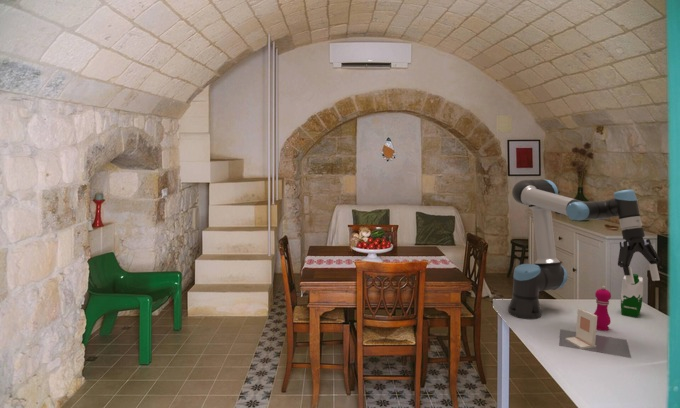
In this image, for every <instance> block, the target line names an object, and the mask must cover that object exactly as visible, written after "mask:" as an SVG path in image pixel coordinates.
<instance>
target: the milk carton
mask: <svg viewBox="0 0 680 408" xmlns="http://www.w3.org/2000/svg"><path fill="white" fill-rule="evenodd" d="M633 278H634V282H635V284H627V281H626V276H625V275H624V276H623V279H622V281H621V283H622V284H621V290H620V291H621V292H620V293H621V294H620V310H621V312H620V313H621V316H627V317H632V318H636V319H638V318H639V317H640V313H641V310H642V304H643V295H644V286H645V285H644V278H643V277H642V276H639V274H638V273H637V274H636V273H633Z"/></svg>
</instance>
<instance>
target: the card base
mask: <svg viewBox="0 0 680 408" xmlns="http://www.w3.org/2000/svg"><path fill="white" fill-rule="evenodd" d="M565 340H566V341H568V342H570V343H571V344H573V345H575V346H577V347H578V348H580V349H579V350H581V349H585V348H594V347H596V345H591V344H589V343H587V342H585V341H583V340H581V339H580V338H578V337H571V338H565Z"/></svg>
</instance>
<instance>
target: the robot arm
mask: <svg viewBox="0 0 680 408" xmlns="http://www.w3.org/2000/svg"><path fill="white" fill-rule="evenodd" d="M511 195H512V199H513V200H514V201H516V202H517V203H518V204H521V205H524V206H528V209H530V210H531V211H532V219H533V227H534V228H533V229H534V230H533V231H534V237H535V239H534V240H535V247H536V256H537V259H536V260H535V262H534V263H521V264H518V265H517V266H516V267H515V268H513V269H514V270H513V276H512V277H513V280H512V282H513V283H512V295H511V296H512V297H511V299H510V302H509V304H508V306H507V313H508V314H509V315H511V316H513V317H517V318H520V319H528V320H534V319H539V318H541V317H542V307H541V303H540V300H539V298H540V297H539V295H540V292H543V291H545V292H546V291H555V290H558V289H559V290H560V289H562V288H564V286H565V285H566V283H567V281H568V272H567V269H566V268H565V266H564V265H561V260H559V259H558V258H557V248H556V243H555V242H556V241H555V233H554V223H553V214H552V212H555V213H558V214H561V215H564V216H567V217H568V219H569V220H572V221H577V222H578V221H579V222H580V221H587V220H590V221H591V220H596V221H601V220H603V221H605V220H607V219H611V218H615V217H618V221H619V225H620V229H621V234H622V235H621V236H622V238H623V240H624V241H619V253H618V258H617V266H618V267H620V268H622V269H623V274H624V275H625V276H626V281H627V284H635V282H634V278H633V274H634V273H633V269H632V266H630V264H631V262H632V260H633V256H634V254H635V253H640V254H641V255H642V256H643V258H645V259H646V260H647V262H648V263H649V264H648V268H649V273H650V277H651V280H652V281H653V282H655V281H661V280H660V274H659V267H658V264H660V262H661V257H659V255H658V253H657V252H656V250H655V248H654V246H653V245H652V243H651V239H650V238H647V239H644V237H645V230H644V228H643V222H642V218H641V214H640V209H639V203H638V198H637V195H636V192H635V191H634V189H623V190H619V191H616V192H615V191H614V193H613V198H610V199H605V200H595V201H594V200H591V201H583V200H579V199H576V198H572V197H568V196H565V195H560V194H559V190H558V187H557V186H556V183H555V182H553V181H552V180H549V179H543V178H541V179H523V180H520V181H518V182H516V183H515V184H514V186H513V188H512V191H511ZM652 281H651V282H652Z"/></svg>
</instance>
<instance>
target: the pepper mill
mask: <svg viewBox="0 0 680 408" xmlns="http://www.w3.org/2000/svg"><path fill="white" fill-rule="evenodd" d="M594 295H595V297H596V301H595V303H596V308H595V311H594V313H593V314H594V315H596V316H597V326H596V331H597V330H598V331H609V330H610V329H609V328H610V327H609V326H610V324H611V323H612V322H611V317H610V314H609V312H608V311H609V310H608V306H609V305H610V300H611V298H612V295H611V291H609V290H608V289H607V287H606V286H605V285H602V286H601V288H599V289H597V290H596V291H595V294H594Z"/></svg>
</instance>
